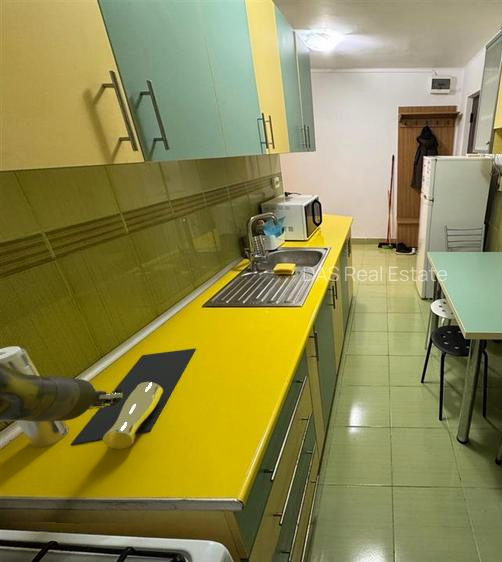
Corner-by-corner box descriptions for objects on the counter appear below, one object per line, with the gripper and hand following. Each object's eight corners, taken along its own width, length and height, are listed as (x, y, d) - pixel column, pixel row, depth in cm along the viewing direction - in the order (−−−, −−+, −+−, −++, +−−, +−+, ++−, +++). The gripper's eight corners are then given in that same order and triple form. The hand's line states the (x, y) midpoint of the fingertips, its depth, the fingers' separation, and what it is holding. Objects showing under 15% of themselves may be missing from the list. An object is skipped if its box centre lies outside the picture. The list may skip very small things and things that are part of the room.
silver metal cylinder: (41, 451, 71) (-13, 365, 61) (26, 443, 73) (-29, 358, 63) (75, 429, 77) (30, 347, 67) (59, 423, 79) (14, 342, 69)
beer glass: (101, 428, 68) (137, 378, 81) (98, 448, 70) (133, 396, 83) (137, 433, 70) (166, 384, 83) (133, 452, 73) (161, 401, 86)
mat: (70, 445, 73) (70, 444, 72) (142, 355, 105) (142, 354, 105) (150, 431, 76) (149, 430, 76) (196, 349, 108) (195, 348, 108)
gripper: (99, 372, 58) (148, 380, 74) (16, 383, 55) (85, 389, 71) (92, 414, 55) (145, 413, 71) (4, 428, 53) (79, 423, 68)
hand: (115, 401), depth 71 cm, fingers closed
